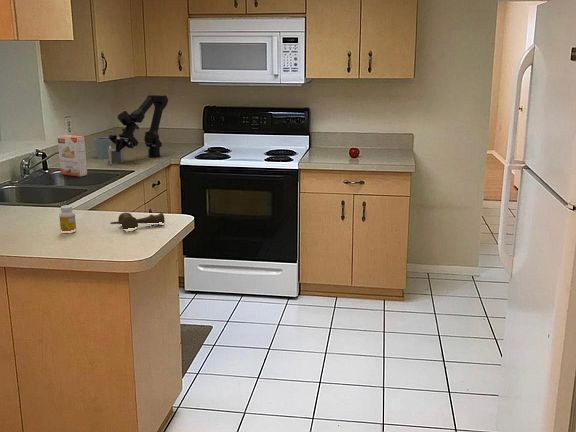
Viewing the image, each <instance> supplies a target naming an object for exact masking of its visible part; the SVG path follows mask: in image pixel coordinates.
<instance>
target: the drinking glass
mask: <svg viewBox="0 0 576 432" xmlns="http://www.w3.org/2000/svg"><path fill="white" fill-rule="evenodd" d="M93 141H94V146H95V153H96V158H97V159H103V160H104V159H109V158H108V150H109V146H111V147H112V141H111V140H110V139H109V136H107V137H95V138H93Z"/></svg>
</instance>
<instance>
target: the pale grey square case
mask: <svg viewBox="0 0 576 432" xmlns="http://www.w3.org/2000/svg"><path fill="white" fill-rule="evenodd" d="M111 149H112V145H111V146H109V150H108V155H109V158H108V161H109V160H110V163H109V165H110V166H112V164H113V163H112V153H111Z"/></svg>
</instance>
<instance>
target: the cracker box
mask: <svg viewBox="0 0 576 432" xmlns="http://www.w3.org/2000/svg"><path fill="white" fill-rule="evenodd" d="M85 140H86V139H85V136H81V135H79V136H78V135H71V134H70V135H69V134H62V135H57V145H58V146H57V147H58V155H59V157H58V158H59V168H60V175H64V176H70V177H79V178H82V177H83V176H84V177H85V176H88V165H87V154H86V141H85Z"/></svg>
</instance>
